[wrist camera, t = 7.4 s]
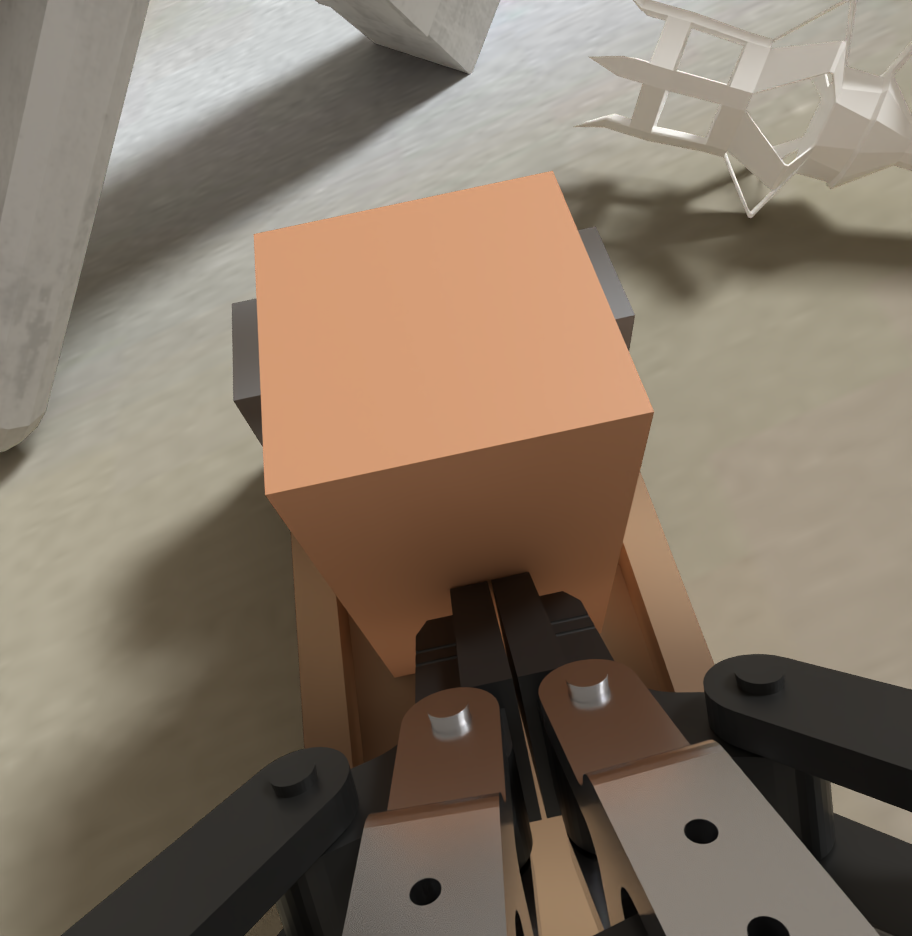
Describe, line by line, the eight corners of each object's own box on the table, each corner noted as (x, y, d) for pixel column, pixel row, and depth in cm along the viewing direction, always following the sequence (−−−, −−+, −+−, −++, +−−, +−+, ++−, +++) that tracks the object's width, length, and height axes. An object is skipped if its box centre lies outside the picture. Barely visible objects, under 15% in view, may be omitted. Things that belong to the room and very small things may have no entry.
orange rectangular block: (601, 633, 16) (653, 411, 9) (394, 677, 16) (264, 495, 9) (547, 458, 19) (552, 170, 11) (370, 497, 19) (254, 233, 11)
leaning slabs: (245, 387, 40) (-343, 360, 20) (403, -79, 33) (-252, -840, 13) (341, 449, 37) (-236, 492, 17) (537, -49, 30) (-45, -977, 10)
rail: (977, 1476, 11) (1410, 2064, 5) (402, 1604, 11) (263, 2331, 5) (580, 379, 22) (593, 220, 17) (305, 437, 22) (231, 297, 17)
